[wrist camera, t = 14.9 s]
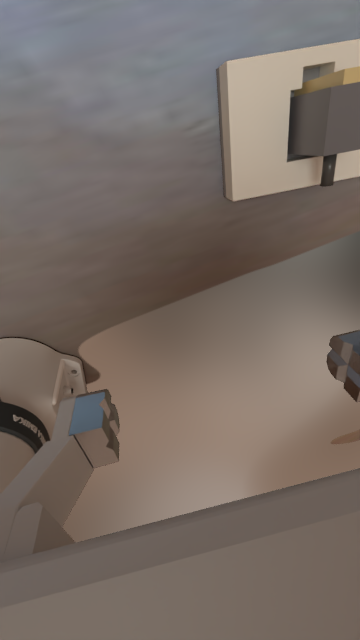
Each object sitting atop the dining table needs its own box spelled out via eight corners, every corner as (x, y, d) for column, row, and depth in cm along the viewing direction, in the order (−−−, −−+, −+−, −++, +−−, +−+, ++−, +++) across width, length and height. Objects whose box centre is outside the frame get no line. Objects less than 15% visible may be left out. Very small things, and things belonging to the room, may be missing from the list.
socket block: (359, 169, 36) (380, 171, 33) (223, 196, 35) (232, 201, 32) (383, 41, 29) (411, 30, 26) (216, 69, 28) (226, 61, 25)
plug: (312, 175, 34) (357, 183, 28) (281, 181, 34) (319, 191, 28) (321, 80, 29) (379, 62, 23) (285, 87, 29) (333, 70, 23)
